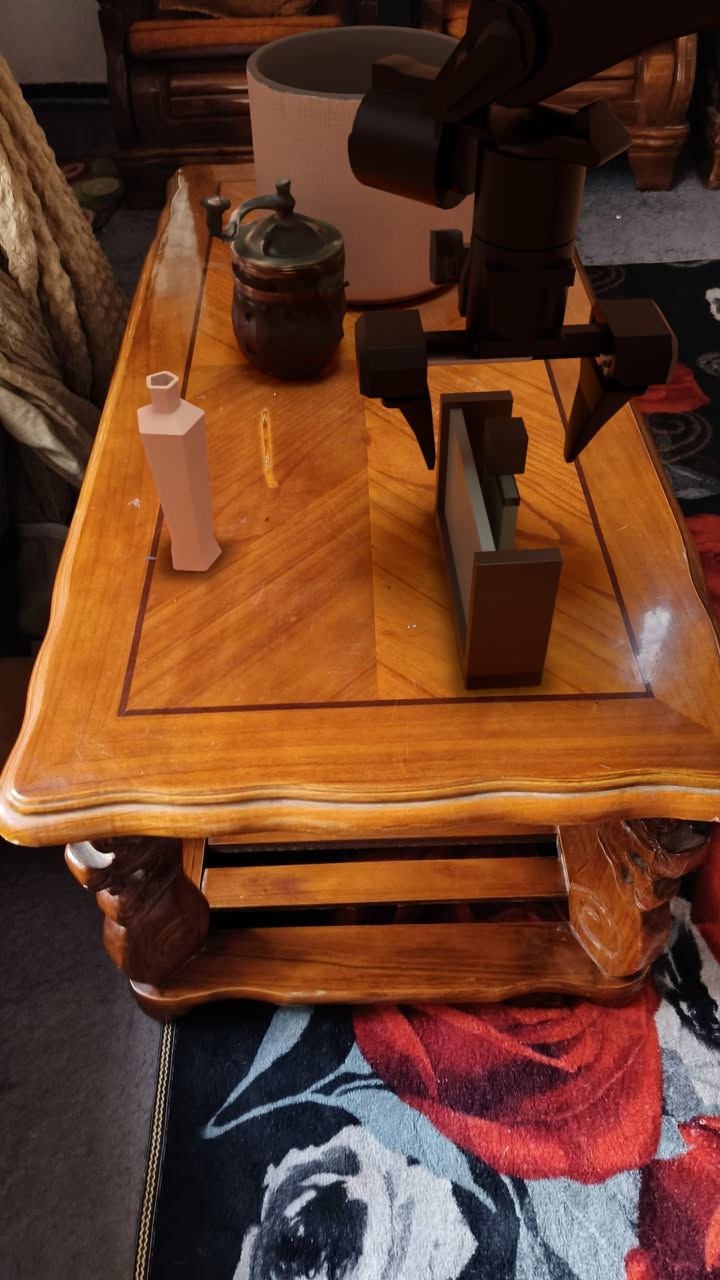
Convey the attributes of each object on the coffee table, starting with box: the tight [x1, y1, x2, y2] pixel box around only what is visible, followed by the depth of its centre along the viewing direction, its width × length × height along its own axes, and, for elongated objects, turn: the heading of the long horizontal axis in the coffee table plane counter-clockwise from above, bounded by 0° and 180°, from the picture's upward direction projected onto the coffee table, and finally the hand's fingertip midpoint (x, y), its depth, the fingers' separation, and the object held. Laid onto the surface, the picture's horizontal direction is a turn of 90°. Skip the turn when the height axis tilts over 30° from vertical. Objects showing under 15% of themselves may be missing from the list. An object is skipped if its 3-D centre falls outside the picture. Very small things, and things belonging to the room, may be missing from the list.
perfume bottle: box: [136, 370, 223, 572], centre depth 67 cm, size 5×4×15 cm
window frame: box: [433, 389, 564, 691], centre depth 65 cm, size 5×18×11 cm, turn 3°
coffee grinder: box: [198, 178, 350, 382], centre depth 84 cm, size 13×15×18 cm
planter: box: [246, 25, 474, 306], centre depth 98 cm, size 23×23×20 cm
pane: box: [482, 416, 530, 551], centre depth 65 cm, size 2×7×11 cm, turn 3°
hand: (499, 462), depth 64 cm, fingers open, 9 cm apart
